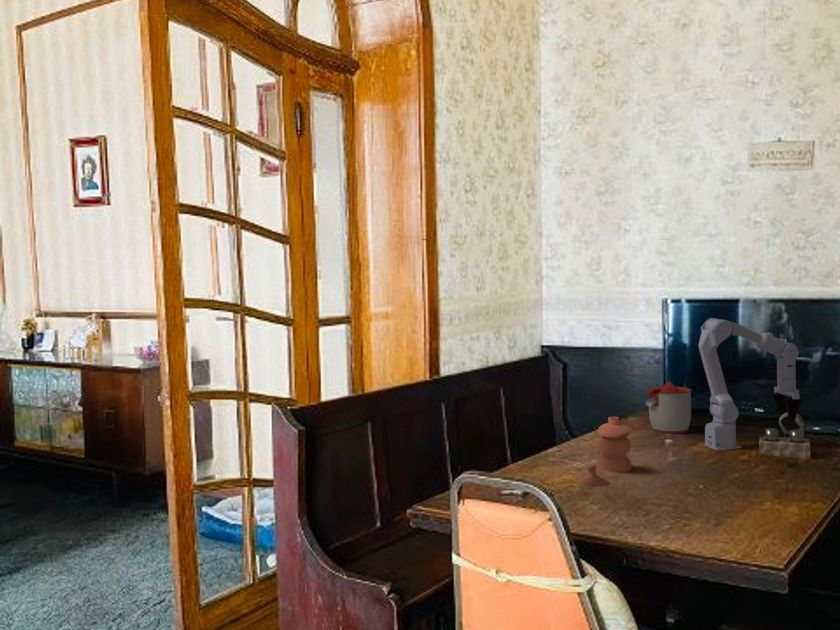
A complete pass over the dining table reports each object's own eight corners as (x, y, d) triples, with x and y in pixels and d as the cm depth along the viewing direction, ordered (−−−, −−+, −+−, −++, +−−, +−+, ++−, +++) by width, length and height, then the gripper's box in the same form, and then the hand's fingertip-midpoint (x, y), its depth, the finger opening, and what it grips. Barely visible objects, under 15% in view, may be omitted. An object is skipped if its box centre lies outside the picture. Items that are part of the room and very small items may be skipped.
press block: (759, 457, 255) (759, 442, 255) (759, 451, 264) (759, 436, 263) (810, 460, 249) (810, 445, 249) (809, 454, 257) (809, 439, 257)
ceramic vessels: (617, 511, 206) (616, 441, 205) (543, 501, 217) (541, 434, 216) (654, 478, 236) (653, 417, 235) (587, 471, 247) (585, 412, 246)
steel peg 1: (765, 444, 257) (764, 430, 256) (765, 442, 260) (765, 428, 260) (778, 445, 255) (778, 431, 255) (778, 442, 259) (778, 428, 258)
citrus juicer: (636, 432, 299) (635, 380, 297) (675, 428, 304) (674, 377, 303) (660, 440, 284) (659, 386, 283) (701, 436, 289) (700, 382, 288)
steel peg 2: (790, 446, 254) (790, 431, 253) (790, 443, 257) (790, 429, 257) (804, 447, 252) (803, 432, 252) (803, 444, 255) (803, 429, 255)
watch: (805, 445, 268) (805, 417, 264) (780, 445, 271) (779, 417, 267) (804, 437, 273) (803, 409, 269) (778, 437, 276) (778, 409, 272)
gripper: (808, 380, 259) (808, 420, 260) (788, 373, 273) (788, 412, 274) (787, 380, 259) (787, 421, 260) (768, 374, 273) (768, 413, 274)
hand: (786, 416), depth 267 cm, fingers open, 7 cm apart
